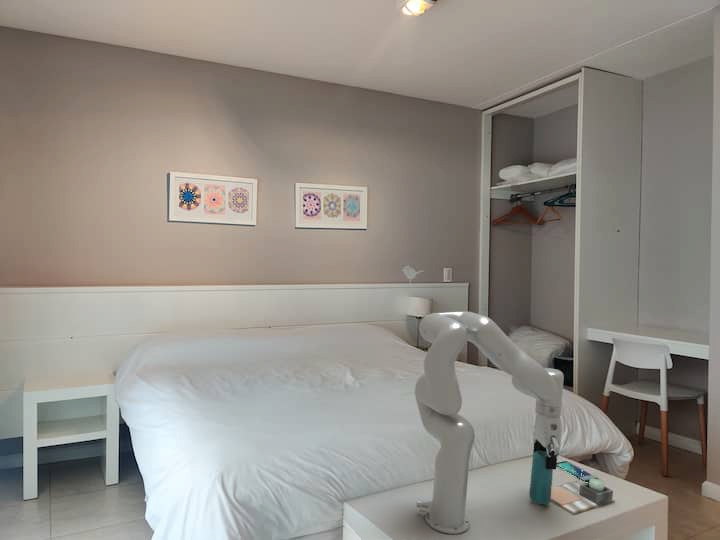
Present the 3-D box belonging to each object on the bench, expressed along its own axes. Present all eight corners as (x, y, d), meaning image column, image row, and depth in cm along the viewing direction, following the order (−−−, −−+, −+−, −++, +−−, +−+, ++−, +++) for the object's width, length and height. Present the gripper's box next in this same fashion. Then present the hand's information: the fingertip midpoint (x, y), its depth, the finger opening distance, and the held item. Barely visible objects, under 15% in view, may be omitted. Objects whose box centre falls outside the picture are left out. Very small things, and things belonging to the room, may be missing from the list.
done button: (597, 495, 165) (598, 486, 164) (585, 488, 168) (586, 479, 168) (606, 492, 167) (607, 483, 166) (594, 486, 171) (595, 477, 170)
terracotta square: (561, 507, 161) (561, 504, 161) (538, 494, 169) (539, 491, 169) (580, 502, 166) (580, 499, 166) (557, 488, 174) (557, 486, 173)
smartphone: (586, 482, 179) (552, 463, 192) (585, 484, 179) (552, 465, 193) (600, 479, 182) (566, 460, 196) (600, 481, 182) (566, 462, 196)
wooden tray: (573, 515, 157) (574, 502, 157) (537, 493, 170) (538, 481, 169) (614, 501, 167) (616, 489, 167) (577, 482, 179) (578, 470, 179)
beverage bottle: (551, 511, 159) (557, 448, 158) (529, 507, 160) (535, 445, 159) (548, 500, 165) (554, 440, 164) (526, 497, 167) (532, 437, 165)
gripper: (572, 419, 152) (568, 475, 154) (548, 399, 169) (545, 449, 171) (547, 418, 152) (543, 474, 153) (526, 399, 169) (522, 449, 171)
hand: (544, 461), depth 162 cm, fingers open, 9 cm apart
